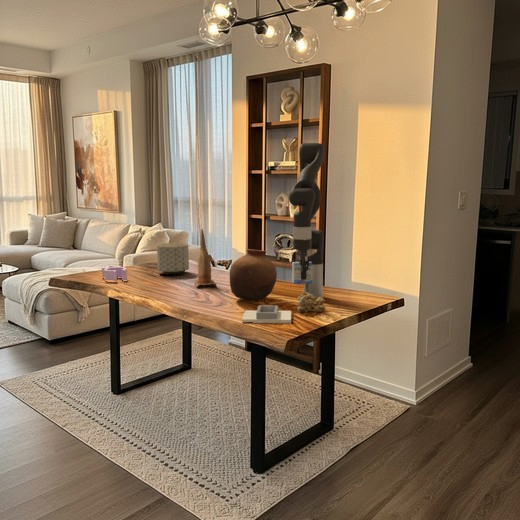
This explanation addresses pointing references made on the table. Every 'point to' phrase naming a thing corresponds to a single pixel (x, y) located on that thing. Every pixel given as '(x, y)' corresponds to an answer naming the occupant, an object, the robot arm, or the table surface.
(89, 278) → the table surface
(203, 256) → the brown spire tower
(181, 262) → the planter
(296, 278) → the medicine box
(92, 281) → the table surface
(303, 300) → the mineral formation
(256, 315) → the holder
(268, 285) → the pottery
